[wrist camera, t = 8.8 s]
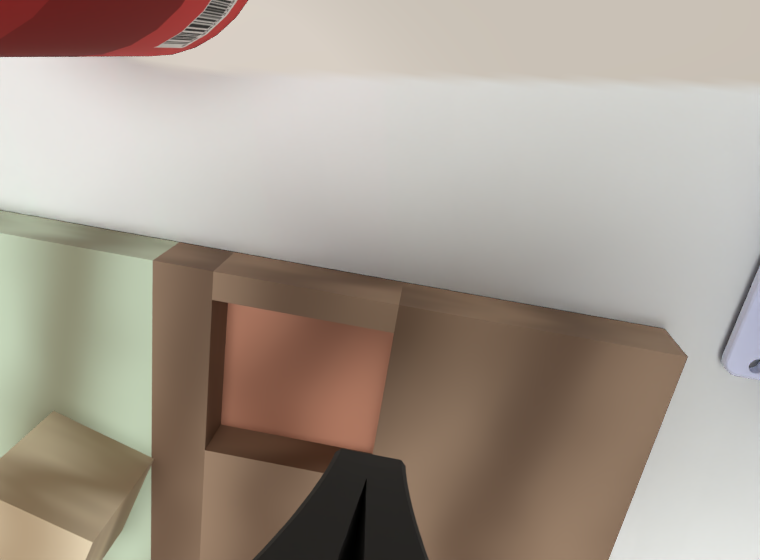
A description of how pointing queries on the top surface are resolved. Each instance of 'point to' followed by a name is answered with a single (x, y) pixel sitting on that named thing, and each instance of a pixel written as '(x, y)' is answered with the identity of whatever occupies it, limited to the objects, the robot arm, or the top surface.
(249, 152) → the top surface
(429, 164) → the top surface
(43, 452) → the maple block
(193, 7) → the canned food
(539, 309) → the trap deck
